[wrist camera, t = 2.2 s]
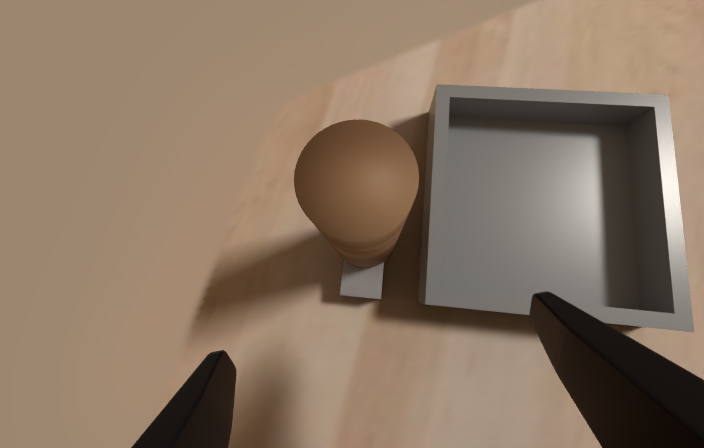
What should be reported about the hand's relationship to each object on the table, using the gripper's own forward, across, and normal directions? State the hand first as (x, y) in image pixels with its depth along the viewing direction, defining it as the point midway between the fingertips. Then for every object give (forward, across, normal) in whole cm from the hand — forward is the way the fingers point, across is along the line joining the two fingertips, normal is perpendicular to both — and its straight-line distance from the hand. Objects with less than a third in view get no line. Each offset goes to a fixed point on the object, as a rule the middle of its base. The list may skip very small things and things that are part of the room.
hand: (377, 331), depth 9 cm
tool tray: (+11, -10, +5) cm, 16 cm away
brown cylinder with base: (+11, 0, +5) cm, 12 cm away
